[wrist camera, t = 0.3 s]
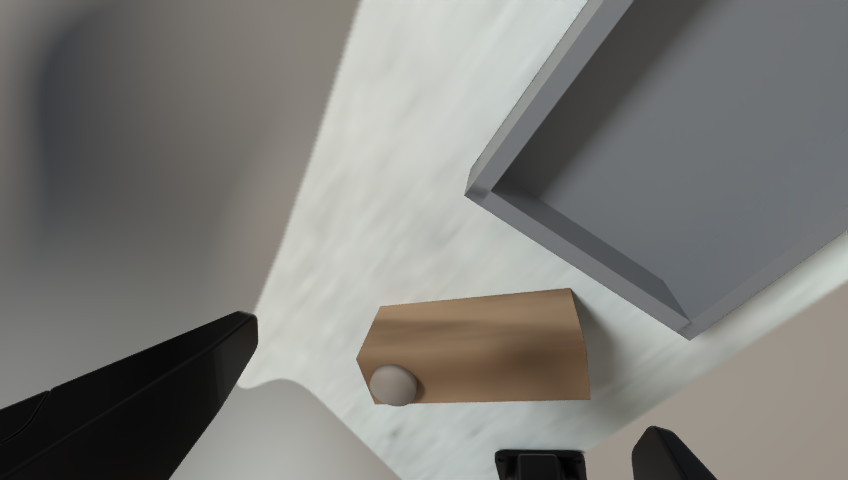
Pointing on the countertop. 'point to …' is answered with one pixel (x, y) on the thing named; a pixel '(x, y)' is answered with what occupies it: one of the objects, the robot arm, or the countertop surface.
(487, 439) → the countertop surface
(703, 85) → the bin
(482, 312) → the strut
